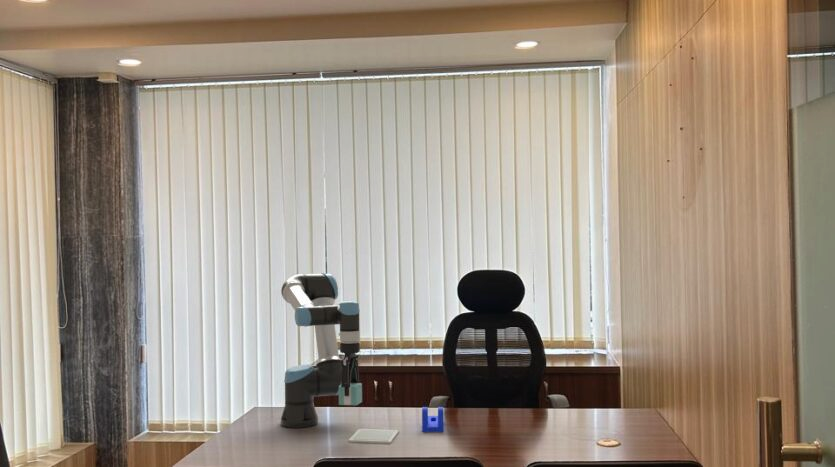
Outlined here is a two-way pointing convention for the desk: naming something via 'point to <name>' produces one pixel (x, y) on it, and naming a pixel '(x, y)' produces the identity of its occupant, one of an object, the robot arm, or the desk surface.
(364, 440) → the white square tray
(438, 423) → the bracket
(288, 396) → the robot arm
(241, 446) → the desk surface
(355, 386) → the cube
